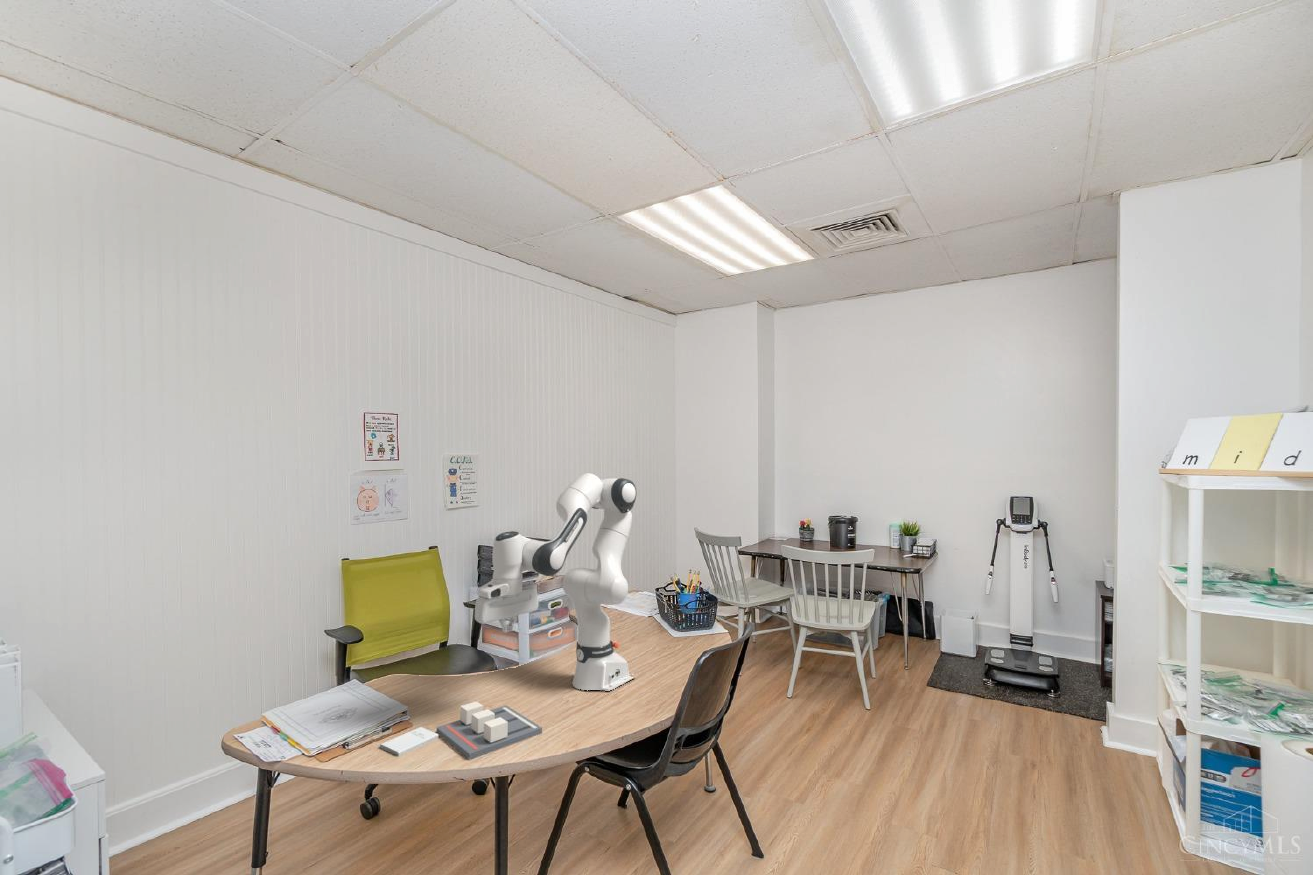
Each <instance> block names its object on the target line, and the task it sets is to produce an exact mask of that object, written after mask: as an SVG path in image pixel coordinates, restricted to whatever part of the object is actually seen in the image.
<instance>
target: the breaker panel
mask: <svg viewBox="0 0 1313 875" xmlns="http://www.w3.org/2000/svg"><path fill="white" fill-rule="evenodd" d="M489 710H490V711H492V712H493V713H495V719H496V718H499V717H501V718H502V719H504V720H505V721H507V722H508V732H507V737H505V738H503V739H500V740H497V741H494V742H491V743H490V742H489V741H488V740H486V739H485V738H484V737H483V736H484V732H481V733H477V732H475V731H474V730H473V729H471V724H468V725H466V724H465V723H463V722H462V721H461V720H460V719H458V720H456V721H453V722H449V723H445V724H442V725H439V726H437V727H436V733H437V734H438V735H439V736H440V737H441V738H442V739H443V740H445V741H446V742H447V743H449V745H451V746H452V745H453V746H452V747H453V748H454V749H456V750H457V751H458V752H459V753H461V754H462V755H463V756H464V757H465V758H467V759H468V761H469V760H473V759H475V758H478V757H481V756H483V755H486V754H489V753H491V752H495V751H498V750H500V749H503V748H505V747H508V746H511V745H513V744H515V743H519V742H522V741H524V740H527V739H531V738H532V737H535V736H538V735H541V734H543V727H542V726H540V725H539V724H538V723H535V722H534V721H532V720H530V719H529V718H527V717H526V716H525V715H523V714H521V713H520V712H518V711H517V710H514V708H511V707H510V706H508V705H506V704H505V705H503V706H500V707H497V708H493V709H489Z"/></svg>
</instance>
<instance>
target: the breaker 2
mask: <svg viewBox="0 0 1313 875" xmlns="http://www.w3.org/2000/svg"><path fill="white" fill-rule="evenodd" d="M507 732H508V722H507V721H505V720H504V719H502V718H501V717H499V718H496V719H493V720H490V721H487V722H484V736H483V737H484V738H485V739H486V740H488V741H489V742H490V743H491V742H494V741H497V740H500V739H503V738H505V737H507Z"/></svg>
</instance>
